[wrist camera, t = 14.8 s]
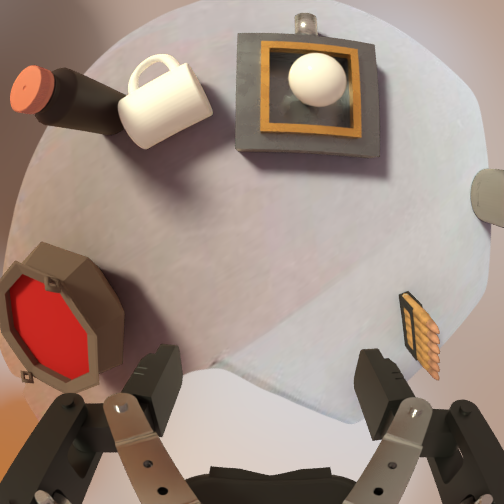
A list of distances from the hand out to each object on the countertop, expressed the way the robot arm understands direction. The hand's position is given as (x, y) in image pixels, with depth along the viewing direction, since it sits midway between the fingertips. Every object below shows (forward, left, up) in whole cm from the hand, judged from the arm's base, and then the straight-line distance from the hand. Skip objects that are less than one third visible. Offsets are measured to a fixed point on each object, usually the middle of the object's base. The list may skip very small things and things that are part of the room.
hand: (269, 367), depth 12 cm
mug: (+14, -19, -30) cm, 38 cm away
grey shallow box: (-5, -21, -30) cm, 37 cm away
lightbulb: (-5, -19, -29) cm, 35 cm away
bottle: (+23, -18, -30) cm, 42 cm away
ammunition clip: (-24, +14, -30) cm, 41 cm away
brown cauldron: (+31, +12, -30) cm, 45 cm away
